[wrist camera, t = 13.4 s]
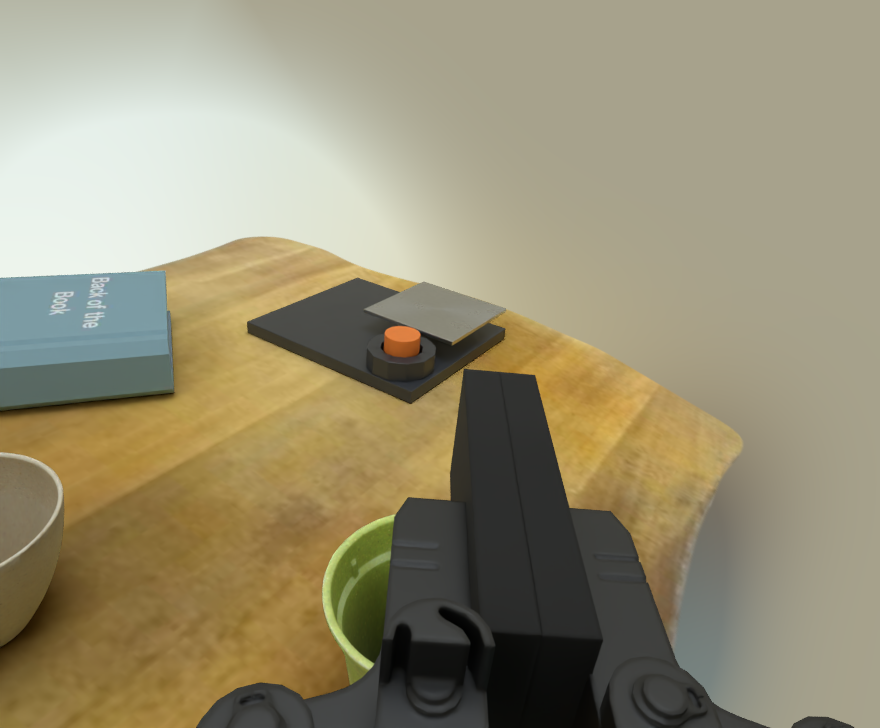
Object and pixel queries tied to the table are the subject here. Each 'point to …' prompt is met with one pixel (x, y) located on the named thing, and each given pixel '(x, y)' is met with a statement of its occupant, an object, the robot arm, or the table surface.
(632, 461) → the table surface
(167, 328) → the book
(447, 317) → the plate
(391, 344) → the button
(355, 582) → the plant pot
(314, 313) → the scale
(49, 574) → the flower pot
